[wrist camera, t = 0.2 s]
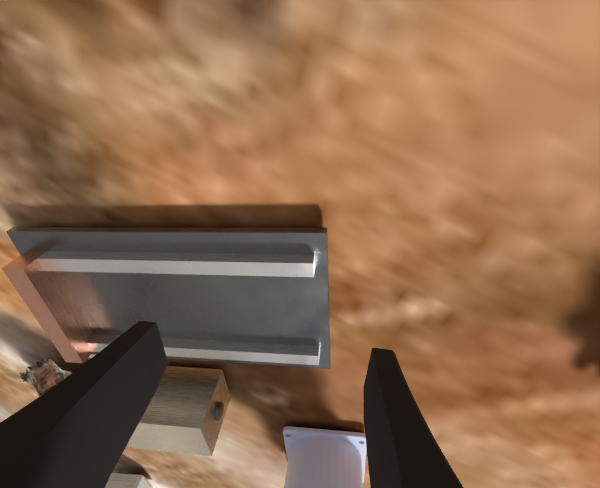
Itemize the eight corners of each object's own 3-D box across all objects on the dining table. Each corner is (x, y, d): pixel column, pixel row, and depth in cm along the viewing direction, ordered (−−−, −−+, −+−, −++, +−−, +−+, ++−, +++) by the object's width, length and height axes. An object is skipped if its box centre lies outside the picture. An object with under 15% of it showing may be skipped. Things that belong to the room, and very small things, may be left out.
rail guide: (330, 362, 25) (328, 392, 23) (87, 347, 28) (65, 373, 26) (327, 227, 19) (324, 252, 17) (13, 227, 22) (-23, 248, 20)
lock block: (233, 397, 30) (215, 456, 26) (159, 392, 31) (130, 447, 27) (225, 369, 28) (204, 428, 24) (146, 364, 29) (112, 420, 25)
